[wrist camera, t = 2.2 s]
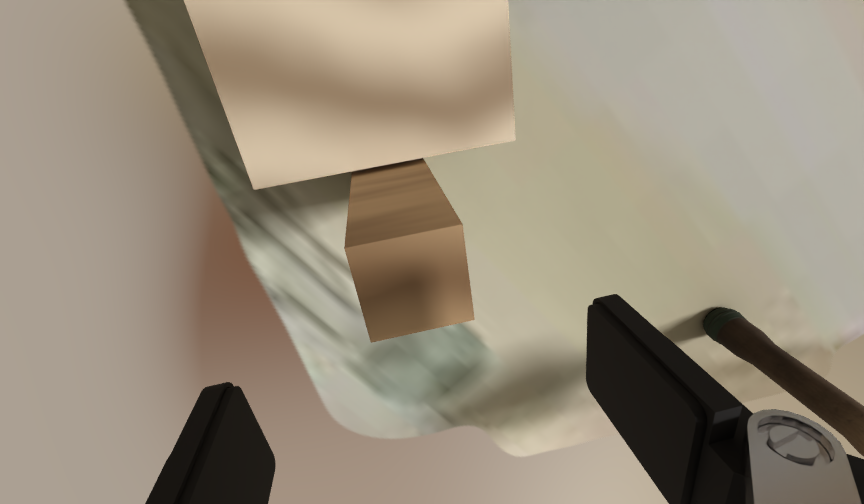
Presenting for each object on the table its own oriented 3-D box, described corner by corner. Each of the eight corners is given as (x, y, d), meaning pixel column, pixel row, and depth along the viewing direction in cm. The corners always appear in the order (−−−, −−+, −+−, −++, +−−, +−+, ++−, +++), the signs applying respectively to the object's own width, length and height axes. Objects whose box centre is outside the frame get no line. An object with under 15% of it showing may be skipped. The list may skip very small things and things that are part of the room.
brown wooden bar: (354, 143, 29) (344, 248, 13) (408, 134, 29) (462, 224, 13) (366, 195, 31) (370, 342, 15) (417, 185, 31) (474, 319, 15)
